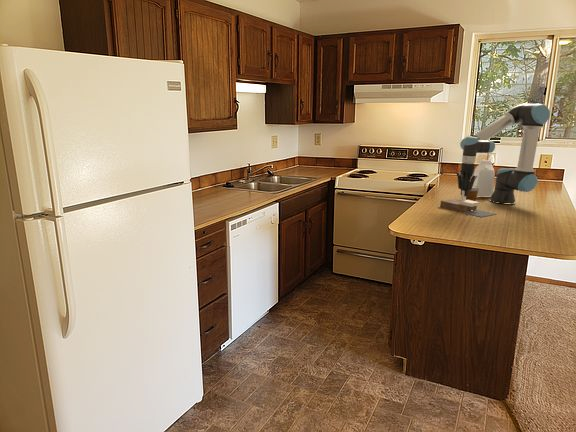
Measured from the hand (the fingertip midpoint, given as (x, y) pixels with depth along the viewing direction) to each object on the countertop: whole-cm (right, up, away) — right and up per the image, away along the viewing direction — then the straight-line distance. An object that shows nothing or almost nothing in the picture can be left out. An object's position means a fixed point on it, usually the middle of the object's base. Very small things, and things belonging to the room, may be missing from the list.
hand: (463, 200), depth 264 cm
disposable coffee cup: (+10, -2, +16) cm, 19 cm away
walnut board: (-2, -5, +4) cm, 6 cm away
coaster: (+2, -2, -4) cm, 5 cm away
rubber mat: (+6, -8, -8) cm, 13 cm away
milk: (+31, +5, +45) cm, 55 cm away
